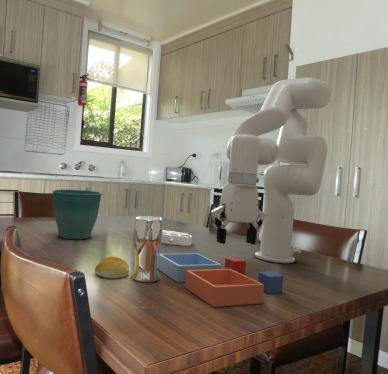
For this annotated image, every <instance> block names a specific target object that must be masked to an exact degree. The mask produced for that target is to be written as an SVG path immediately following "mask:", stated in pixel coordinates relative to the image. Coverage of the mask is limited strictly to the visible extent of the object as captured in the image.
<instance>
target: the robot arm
mask: <svg viewBox="0 0 388 374" xmlns="http://www.w3.org/2000/svg"><path fill="white" fill-rule="evenodd" d="M331 93H332V91H331V87H330V85H329V84H328V83H327V81H325V80H322V79H319V78H316V77H308V76H307V77H298V78H288V79H282V80H279V81H276V82H275V83H274V84H273V85H272V86H271V87H270V89H269V91H268V93H267V95H266V98H265V99H264V102H263V104H262V106H261V107H260V110H259V111H257V112H255V113H253V114H252V115H250V116H249V117H247V118H246V119H245V120H243V121H242V122H241V123H239V124H238V125H237V126H236V128H234V130H233V133H232V134H231V137H230V138H229V141H228V143H227V146H226V156H227V157H226V158H228V161H229V163H228V173H227V184H224V185H223V188H222V191H221V194H220V200H219V205H218V207H216V208H214V209H212V210H211V211H210V212H209V213H210V217H211V220H212V222H213V224H214V225H215V228H216V243H219V244H221V245H226V241H227V228H226V227H227V226H228V225H229V224H230V223H238V224H239V223H241V224H247V226H248V227H247V230H246V240H245V242H246V243H247V244H250V245H256V240H257V233H258V232H257V231H259V230H260V227H261V237H260V238H261V239H260V248H259V251H255V253H254V256H255V258H257V259H259V260H263V261H267V262H272V263H276V264H277V263H279V264H293V263H295V261H296V258H295V256H293V255H295V254H297V255H300V254H302V251H303V250H302V249H301V247H294V246H293V245H292V239H293V229H294V217H295V205H294V203H293V201H292V199H291V197H289V195H294V196H295V195H297V196H306V197H307V196H309V197H310V196H315V195H316V194H318V193H319V191H320V188H321V186H322V181H323V176H324V170H325V166H326V161H327V157H328V145H327V144H328V143H327V141H326V139H325V138H324V137H323V136H320V135H307V132H308V128H309V127H308V126H309V125H308V122H307V120H306V119H305V118H304V116H303V115H302V114H301V113H300V112H299V111H298V110H307V109H323V108H325V107H326V106H327V105H329V102H330V100H331V96H332V94H331ZM279 129H280V130H279ZM276 130H279V133H278V137H277V140H276V141H275V140H274V139H272V138H269V137H259V136H262V135H265V134H269V133H271V132H274V131H276ZM275 161H277V162H278V164H277V163H276V164H274V163H275ZM260 165H261V166H267V165H269V166H268V167H267V168H266V169H265V170H264V172H263V177H262V178H263V187H264V188H263V191H264V192H263V193H264V196H263V197H264V200H263V211H262V210H261V209H259V189H258V186H257V184H259V182H260V178H259V177H258V169H259V166H260Z"/></svg>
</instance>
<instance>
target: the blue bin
mask: <svg viewBox="0 0 388 374" xmlns="http://www.w3.org/2000/svg"><path fill="white" fill-rule="evenodd" d="M222 265H223V264H221V263H219V262H217V261H215V260H213V259H210V258H208V257H206V256H204V255H202V254H201V253H198V252H196V253H194V252H193V253H190V252H189V253H188V252H187V253H159V256H158V260H157V270H158V271H160V272H161V273H163V274H164V275H166V276H167V277H169V278H170V279H172V280H173V281H175V282H176V283H186V270H211V269H222Z"/></svg>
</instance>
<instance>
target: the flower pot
mask: <svg viewBox="0 0 388 374" xmlns="http://www.w3.org/2000/svg"><path fill="white" fill-rule="evenodd" d="M51 192H52V200H53V201H52V202H53V203H52V204H53V216H54V219H55V223H56V226H57V231H58V236H59V237H60V238H61V239H62V238H63V239H67V240H85V239H90V238H91V237H92V232H93V229H94V227H95V224H96V222H97V220H98V217H99V212H100V205H101V200H102V199H101V198H102V195H103V192H100V191H95V190H87V189H86V190H85V189H53V190H52V191H51Z"/></svg>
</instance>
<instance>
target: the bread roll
mask: <svg viewBox="0 0 388 374" xmlns="http://www.w3.org/2000/svg"><path fill="white" fill-rule="evenodd" d="M129 272H130V265H129V264H128V262H127V261H126V260H125V259H123V258H121V257H117V256H107V257H105V258H103V259H102V260H101V261H99V262H98V264H96V266H95V268H94V273H95V274H96V275H97V276H99V277H102V278H105V279H122V278H125V277H127V276H128V274H129Z"/></svg>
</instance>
